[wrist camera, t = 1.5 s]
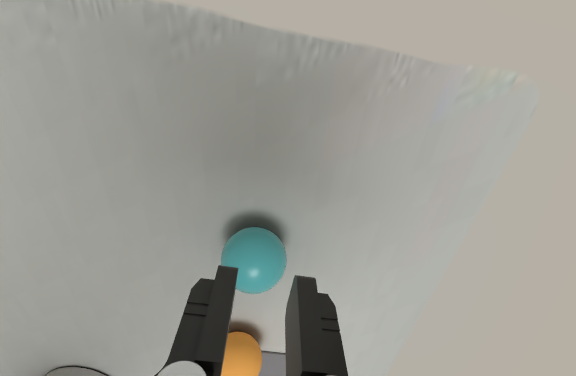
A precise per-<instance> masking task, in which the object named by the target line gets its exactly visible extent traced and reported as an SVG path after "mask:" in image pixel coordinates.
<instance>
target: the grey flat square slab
mask: <svg viewBox="0 0 576 376" xmlns="http://www.w3.org/2000/svg"><path fill="white" fill-rule="evenodd" d="M261 353H262V366H261V369H260V372H259V374H258V376H286V354H285V353H275V352H265V351H261Z"/></svg>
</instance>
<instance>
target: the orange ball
mask: <svg viewBox="0 0 576 376" xmlns="http://www.w3.org/2000/svg"><path fill="white" fill-rule="evenodd" d="M261 366H262V353H261V349H260V346H259V344H258V343H257V341H256V340H255V339H254V338H253V337H252V336H250V335H249V334H247V333H244V332H232V333H228V337H227V343H226V349H225V355H224V361H223V367H222V373H221V376H258V374H259V372H260V369H261Z"/></svg>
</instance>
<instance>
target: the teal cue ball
mask: <svg viewBox="0 0 576 376" xmlns="http://www.w3.org/2000/svg"><path fill="white" fill-rule="evenodd" d="M221 266H228V267H236V268H238V275H237V282H236V289H237V290H239V291H241V292H244V293H249V294H257V293H262V292H265V291H267V290H269V289H271V288H272V287H273V286H275V285H276V284H277V283H278V282H279V280H280V279H281V277H282V276H283V273H284V271H285V268H286V252H285V248H284V246H283V244H282V242H281V241H280V239H279V238H278V237H277V236H276V235H275V234H274V233H272V232H271V231H269V230H266V229H264V228H259V227H250V228H245V229H242V230H240V231H238V232H237V233H235V234H234V235H233V236H232V237H231V238H230V239H229V240H228V241H227V243H226V244H225V246H224V249H223V252H222V257H221Z"/></svg>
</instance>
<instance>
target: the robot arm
mask: <svg viewBox="0 0 576 376" xmlns="http://www.w3.org/2000/svg"><path fill="white" fill-rule="evenodd" d="M237 275H238V268H236V267H228V266H221V265H219V266H218V270H217V274H216V278H215V280H211V279H203V278H201V279H200V280H199V281H198V282H197V283H196V284H195V285H194V287H193V288H192V289H191V292H190V295H189V298H188V301H187V304H186V307H185V310H184V313H183V316H182V319H181V322H180V325H179V328H178V331H177V334H176V337H175V340H174V343H173V346H172V349H171V352H170V355H169V358H168V360H167V362H166V364H165V365H164V367H163V368H162V369H161V370H160V371H159V372H158V373H157V374H156V375H155V376H221V373H222V367H223V361H224V355H225V349H226V343H227V337H228V331H229V326H230V320H231V314H232V308H233V301H234V295H235V288H236V282H237ZM285 339H286V376H348V372H347V367H346V362H345V356H344V351H343V345H342V340H341V335H340V329H339V324H338V318H337V313H336V308H335V305H334V303H333V302H332V300H331V299H330V297H329V296H328V294H322V293H317V285H316V279H315V278H312V277H305V276H297V275H295V277H294V280H293V284H292V288H291V291H290V295H289V299H288V303H287V308H286V316H285ZM46 376H105V375H103V374H101V373H99V372H96V371H93V370H90V369H85V368H78V367H65V368H59V369H56V370H53V371H51V372H50V373H48V374H47V375H46Z"/></svg>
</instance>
